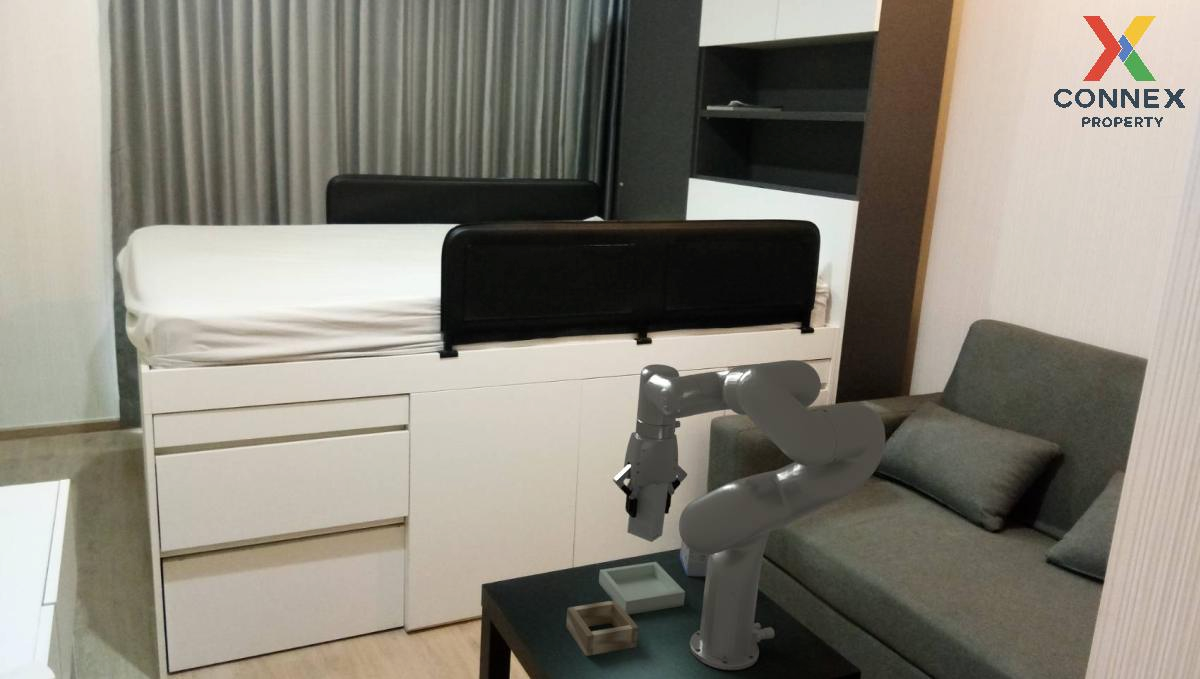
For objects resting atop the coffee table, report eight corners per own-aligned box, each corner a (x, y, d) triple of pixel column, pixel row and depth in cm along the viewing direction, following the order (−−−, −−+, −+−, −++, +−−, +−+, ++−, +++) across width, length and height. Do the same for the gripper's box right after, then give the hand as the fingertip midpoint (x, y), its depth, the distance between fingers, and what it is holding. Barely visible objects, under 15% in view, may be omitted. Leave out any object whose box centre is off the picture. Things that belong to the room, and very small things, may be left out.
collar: (614, 618, 176) (615, 599, 176) (636, 646, 168) (638, 627, 167) (566, 626, 173) (567, 607, 172) (586, 656, 164) (587, 636, 163)
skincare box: (662, 535, 183) (670, 481, 180) (651, 543, 180) (658, 487, 177) (637, 525, 187) (644, 471, 184) (626, 532, 183) (632, 477, 180)
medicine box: (679, 559, 202) (682, 523, 200) (698, 559, 203) (702, 523, 201) (686, 576, 195) (690, 539, 193) (706, 577, 195) (710, 539, 193)
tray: (654, 574, 195) (655, 561, 194) (683, 605, 183) (685, 591, 182) (598, 583, 189) (599, 569, 189) (624, 615, 178) (626, 601, 177)
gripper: (685, 418, 184) (677, 500, 189) (606, 424, 178) (600, 509, 182) (703, 431, 178) (694, 516, 182) (622, 438, 171) (615, 526, 175)
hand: (647, 512), depth 182 cm, fingers closed on skincare box, 6 cm apart
